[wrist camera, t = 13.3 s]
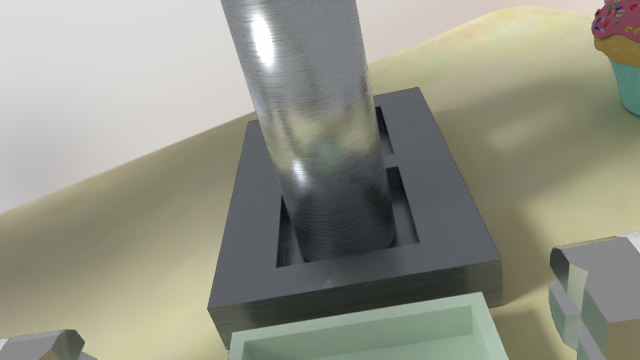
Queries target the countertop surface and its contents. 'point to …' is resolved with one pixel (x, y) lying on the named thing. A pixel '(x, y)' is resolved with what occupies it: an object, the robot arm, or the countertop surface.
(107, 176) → the countertop surface
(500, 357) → the tray
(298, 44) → the billet
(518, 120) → the countertop surface
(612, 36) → the cupcake
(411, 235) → the pallet
